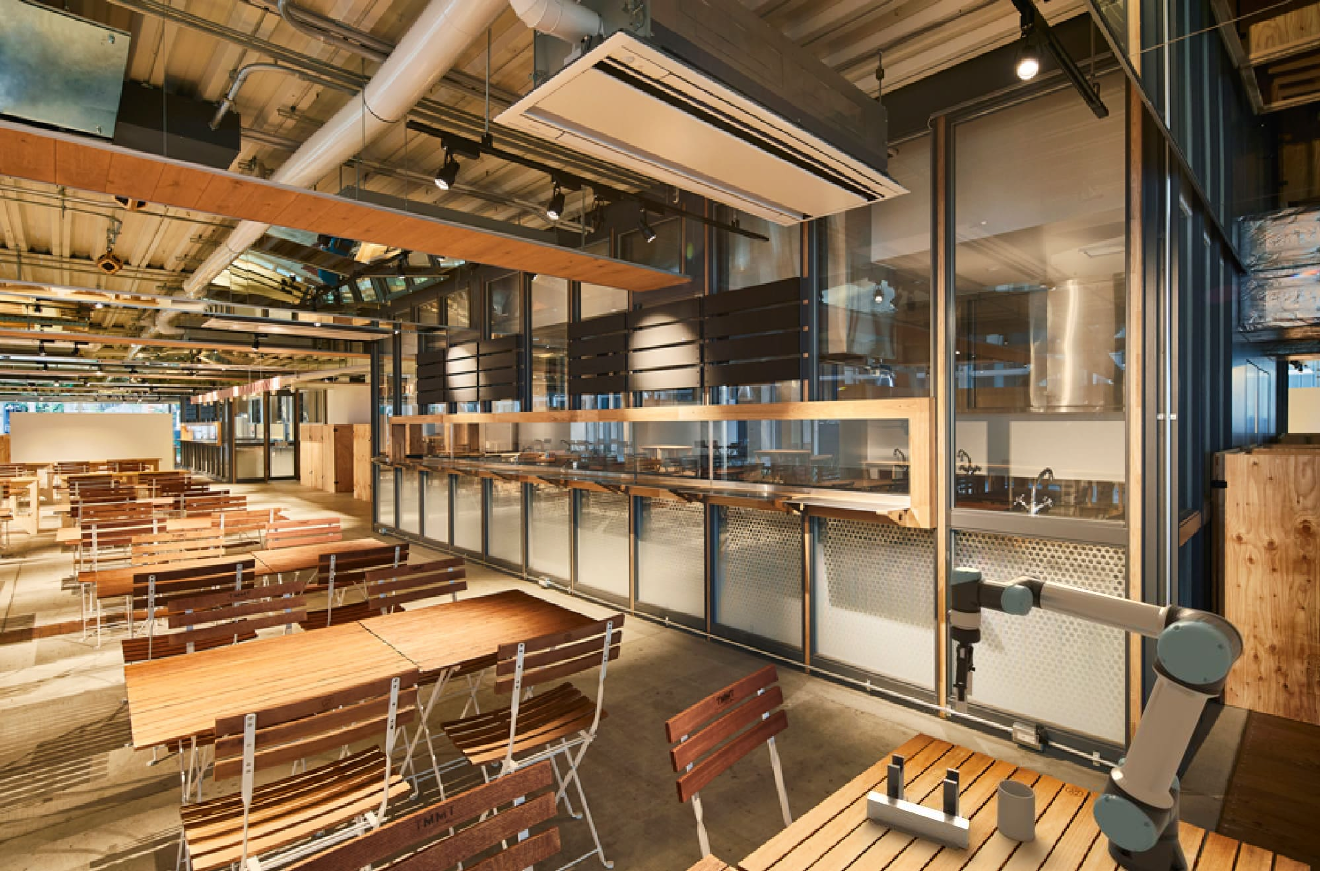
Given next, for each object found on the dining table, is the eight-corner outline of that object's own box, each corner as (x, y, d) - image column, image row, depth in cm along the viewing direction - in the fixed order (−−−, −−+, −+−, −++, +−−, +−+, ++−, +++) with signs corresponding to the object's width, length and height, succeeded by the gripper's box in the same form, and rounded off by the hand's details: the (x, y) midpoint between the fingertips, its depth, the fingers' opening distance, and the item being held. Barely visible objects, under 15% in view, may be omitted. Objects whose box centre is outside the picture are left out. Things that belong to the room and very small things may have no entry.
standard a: (963, 816, 168) (963, 771, 168) (959, 832, 162) (960, 785, 162) (942, 810, 171) (943, 765, 171) (938, 825, 164) (939, 779, 164)
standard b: (907, 799, 176) (908, 756, 176) (902, 814, 169) (902, 769, 169) (888, 794, 178) (889, 751, 178) (882, 808, 172) (883, 764, 171)
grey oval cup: (1041, 843, 158) (1042, 799, 158) (1005, 840, 159) (1006, 796, 159) (1019, 814, 170) (1020, 773, 170) (986, 811, 171) (986, 771, 171)
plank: (960, 837, 160) (960, 835, 160) (958, 850, 155) (958, 848, 155) (879, 811, 170) (879, 810, 170) (874, 823, 165) (874, 821, 165)
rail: (968, 840, 158) (969, 820, 158) (967, 849, 154) (967, 828, 154) (870, 809, 170) (870, 790, 170) (866, 817, 167) (867, 798, 167)
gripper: (955, 612, 185) (954, 684, 185) (944, 635, 163) (942, 716, 163) (984, 616, 181) (983, 690, 181) (976, 640, 159) (975, 724, 159)
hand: (964, 703), depth 172 cm, fingers open, 13 cm apart
